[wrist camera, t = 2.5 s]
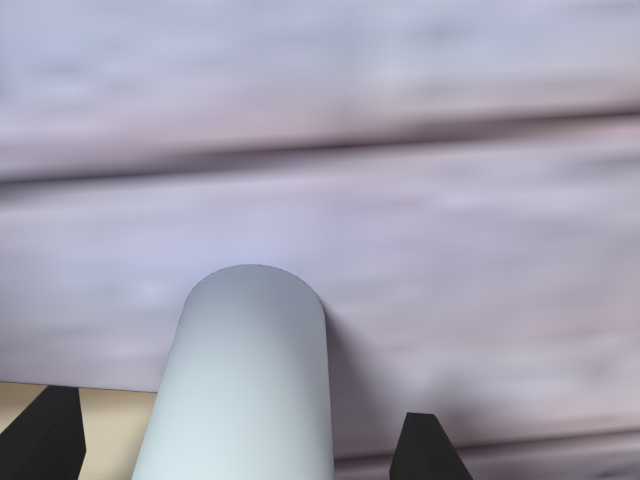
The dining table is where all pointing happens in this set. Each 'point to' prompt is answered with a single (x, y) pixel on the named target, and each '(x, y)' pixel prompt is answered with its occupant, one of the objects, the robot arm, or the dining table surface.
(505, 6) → the dining table surface
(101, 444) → the socket block
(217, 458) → the peg
